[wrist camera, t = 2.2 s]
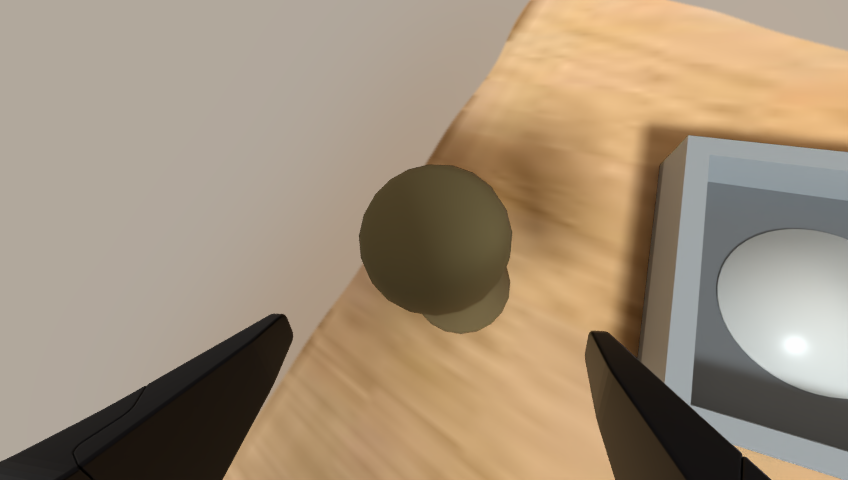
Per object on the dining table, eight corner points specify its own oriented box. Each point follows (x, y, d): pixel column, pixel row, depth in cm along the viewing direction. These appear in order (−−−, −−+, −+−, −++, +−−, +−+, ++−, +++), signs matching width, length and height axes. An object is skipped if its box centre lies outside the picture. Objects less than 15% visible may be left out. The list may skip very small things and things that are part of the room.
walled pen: (1030, 532, 13) (1186, 588, 10) (631, 407, 16) (660, 421, 13) (983, 206, 16) (1089, 177, 13) (660, 164, 19) (688, 135, 17)
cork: (526, 314, 19) (569, 283, 8) (428, 347, 19) (354, 356, 9) (488, 223, 21) (484, 106, 10) (401, 255, 21) (314, 175, 11)
